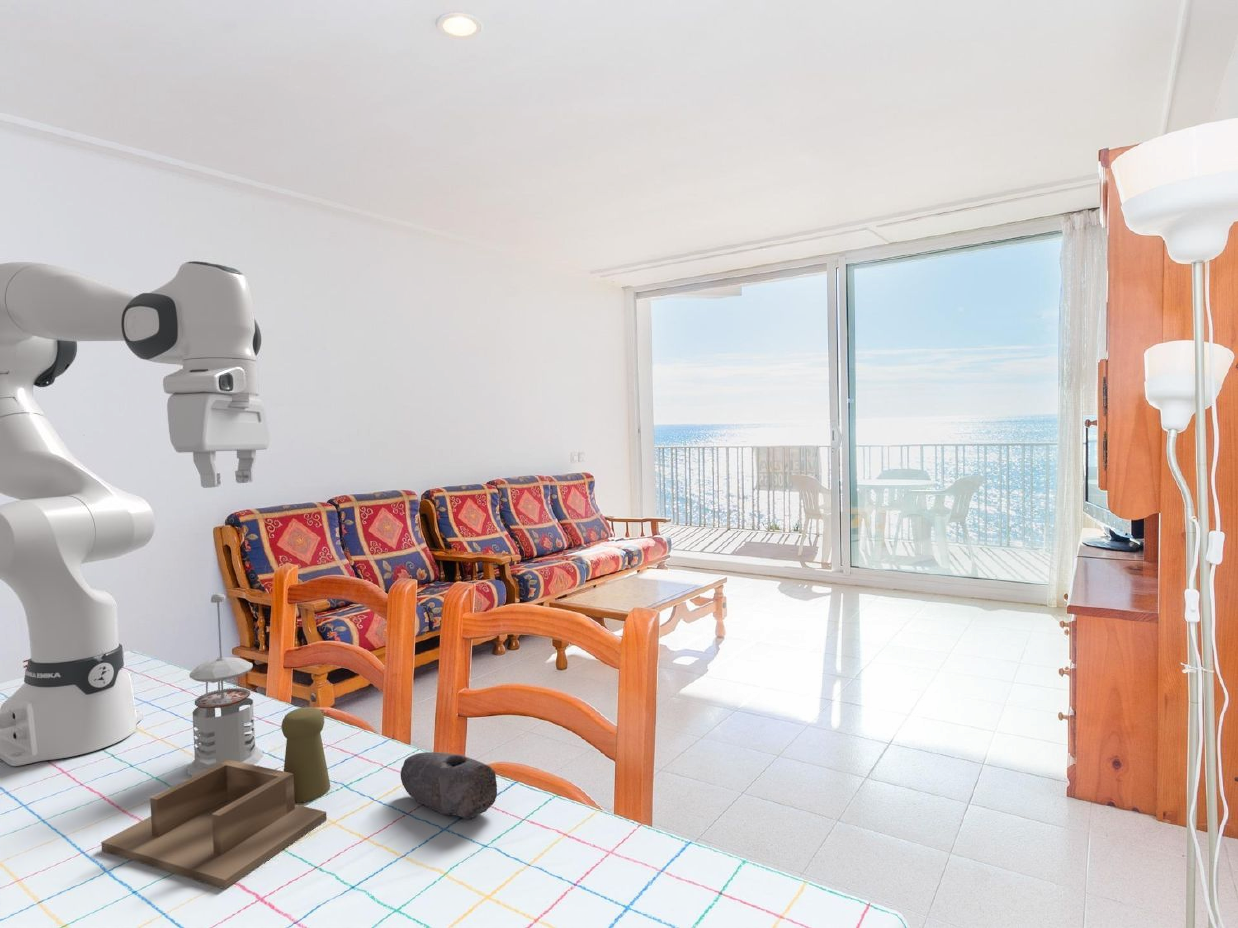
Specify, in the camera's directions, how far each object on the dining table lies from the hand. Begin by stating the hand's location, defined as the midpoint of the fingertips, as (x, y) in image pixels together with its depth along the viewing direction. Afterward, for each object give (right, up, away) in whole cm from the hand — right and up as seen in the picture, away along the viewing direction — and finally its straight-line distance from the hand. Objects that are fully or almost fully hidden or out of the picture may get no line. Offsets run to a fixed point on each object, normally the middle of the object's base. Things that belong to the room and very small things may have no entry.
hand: (228, 484), depth 96 cm
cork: (+11, -41, -2) cm, 43 cm away
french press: (-5, -41, +8) cm, 42 cm away
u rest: (+5, -42, -11) cm, 43 cm away
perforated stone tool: (+31, -41, -7) cm, 52 cm away
